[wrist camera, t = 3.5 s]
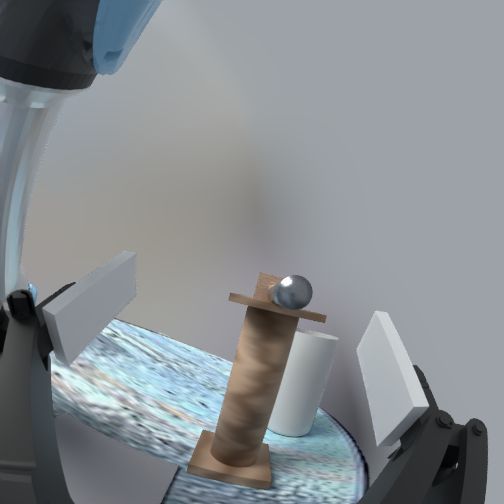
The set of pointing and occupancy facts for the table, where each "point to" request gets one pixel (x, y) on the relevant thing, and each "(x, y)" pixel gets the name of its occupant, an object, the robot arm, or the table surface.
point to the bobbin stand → (250, 397)
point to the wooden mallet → (284, 290)
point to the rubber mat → (108, 467)
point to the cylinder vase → (303, 383)
